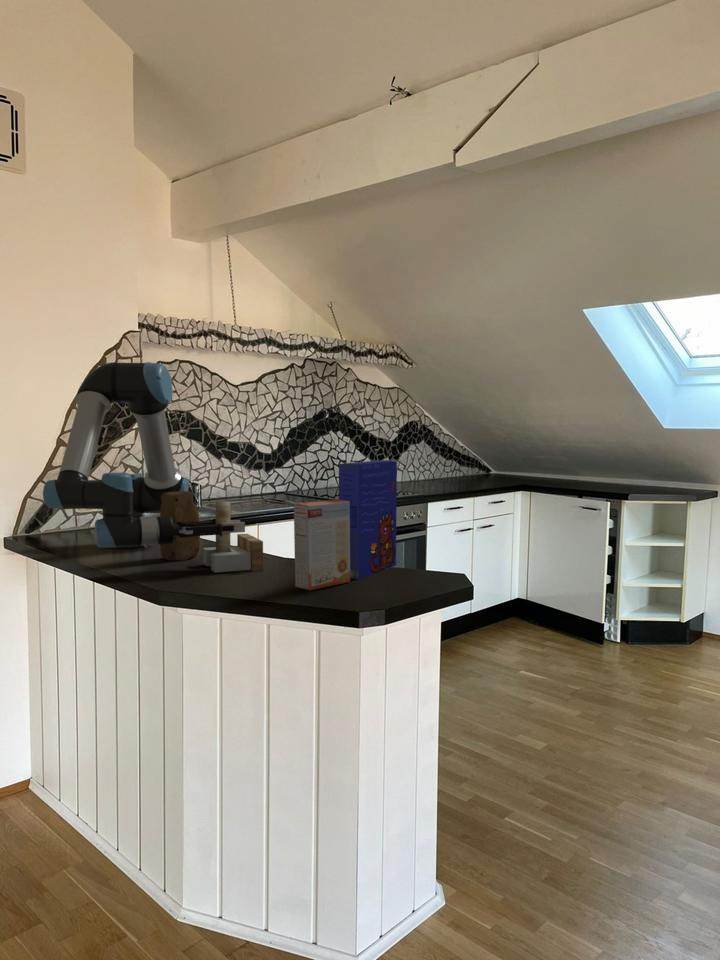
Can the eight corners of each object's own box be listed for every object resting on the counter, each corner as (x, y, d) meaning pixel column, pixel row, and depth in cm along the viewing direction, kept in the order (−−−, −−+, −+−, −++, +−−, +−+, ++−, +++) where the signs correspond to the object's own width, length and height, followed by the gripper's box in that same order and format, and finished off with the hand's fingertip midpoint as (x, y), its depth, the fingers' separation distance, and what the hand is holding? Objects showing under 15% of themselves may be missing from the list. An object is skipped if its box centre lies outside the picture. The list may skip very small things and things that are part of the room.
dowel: (214, 562, 206) (214, 501, 204) (228, 561, 207) (228, 501, 206) (217, 564, 202) (217, 502, 201) (231, 563, 204) (231, 502, 202)
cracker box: (335, 579, 191) (335, 498, 189) (351, 582, 187) (351, 500, 185) (293, 587, 181) (292, 502, 180) (308, 591, 177) (308, 504, 175)
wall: (237, 561, 214) (237, 534, 214) (247, 560, 215) (247, 533, 215) (252, 571, 201) (252, 542, 200) (263, 570, 202) (263, 541, 201)
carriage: (203, 563, 209) (202, 547, 209) (237, 561, 213) (237, 545, 213) (214, 572, 197) (214, 555, 197) (251, 569, 201) (250, 553, 201)
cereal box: (377, 563, 212) (378, 459, 210) (395, 565, 210) (396, 460, 207) (338, 577, 194) (338, 463, 191) (358, 579, 191) (358, 463, 188)
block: (171, 562, 212) (170, 493, 211) (157, 559, 217) (156, 491, 216) (203, 557, 220) (202, 491, 218) (189, 554, 225) (188, 489, 224)
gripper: (151, 540, 204) (234, 535, 214) (162, 549, 189) (251, 543, 199) (151, 513, 204) (234, 509, 213) (162, 520, 188) (250, 516, 198)
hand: (242, 525), depth 206 cm, fingers closed on dowel, 4 cm apart
